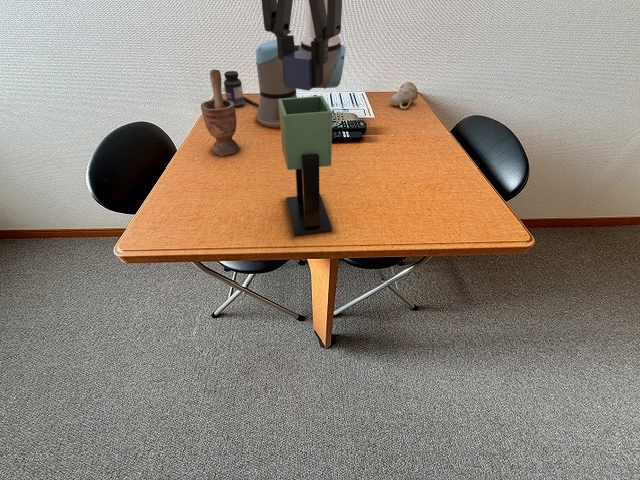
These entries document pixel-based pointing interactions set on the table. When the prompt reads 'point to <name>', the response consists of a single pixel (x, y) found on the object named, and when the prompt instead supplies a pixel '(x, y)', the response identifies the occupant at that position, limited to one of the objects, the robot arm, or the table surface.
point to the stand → (308, 200)
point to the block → (298, 70)
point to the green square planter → (305, 130)
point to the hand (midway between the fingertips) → (303, 82)
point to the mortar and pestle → (220, 118)
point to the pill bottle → (233, 88)
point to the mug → (405, 95)
